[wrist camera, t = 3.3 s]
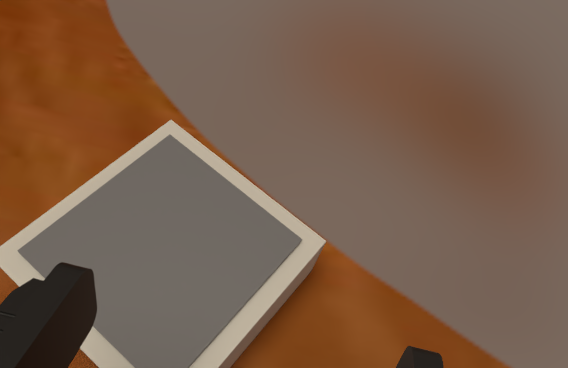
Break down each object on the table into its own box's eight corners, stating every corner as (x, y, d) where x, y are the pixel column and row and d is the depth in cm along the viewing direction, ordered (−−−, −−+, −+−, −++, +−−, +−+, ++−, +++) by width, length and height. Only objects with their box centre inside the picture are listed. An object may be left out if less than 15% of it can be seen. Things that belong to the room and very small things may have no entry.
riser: (170, 438, 24) (161, 431, 19) (20, 286, 26) (-15, 251, 22) (310, 271, 29) (327, 238, 25) (175, 161, 32) (170, 115, 28)
